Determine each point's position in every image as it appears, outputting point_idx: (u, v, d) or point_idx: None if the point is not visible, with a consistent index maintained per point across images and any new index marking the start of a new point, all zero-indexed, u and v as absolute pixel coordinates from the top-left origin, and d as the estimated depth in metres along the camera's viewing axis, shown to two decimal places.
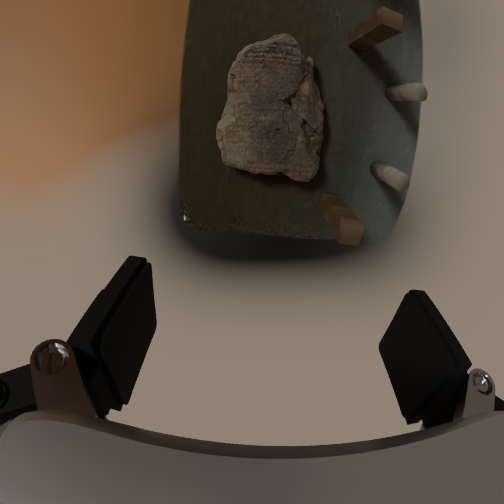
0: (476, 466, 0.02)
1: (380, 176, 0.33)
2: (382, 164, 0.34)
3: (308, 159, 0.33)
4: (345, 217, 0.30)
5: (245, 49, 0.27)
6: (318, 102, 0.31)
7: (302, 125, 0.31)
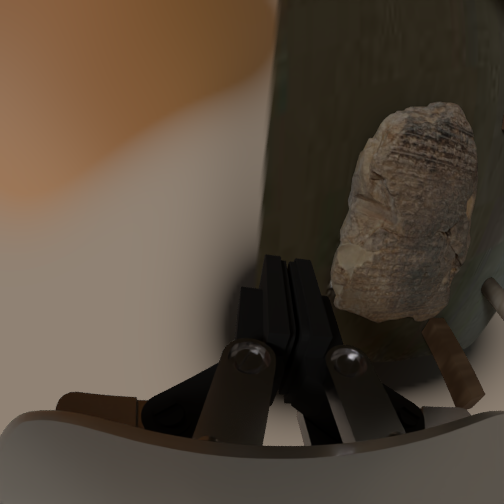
0: (476, 466, 0.02)
1: (497, 308, 0.21)
2: (500, 290, 0.21)
3: (443, 300, 0.21)
4: (469, 382, 0.18)
5: (398, 123, 0.15)
6: None
7: None
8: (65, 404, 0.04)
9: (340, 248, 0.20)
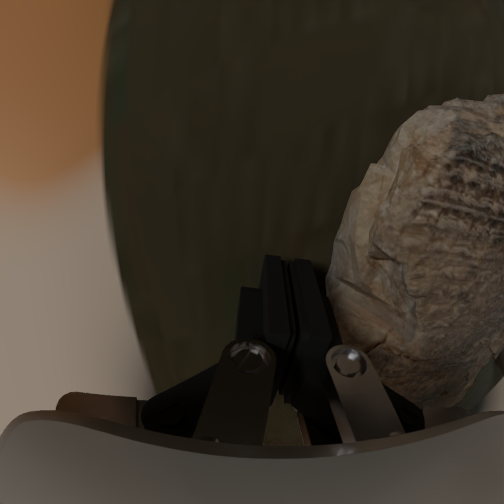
0: (476, 466, 0.02)
1: None
2: None
3: (459, 400, 0.12)
4: None
5: (437, 132, 0.06)
6: None
7: None
8: (65, 404, 0.04)
9: None
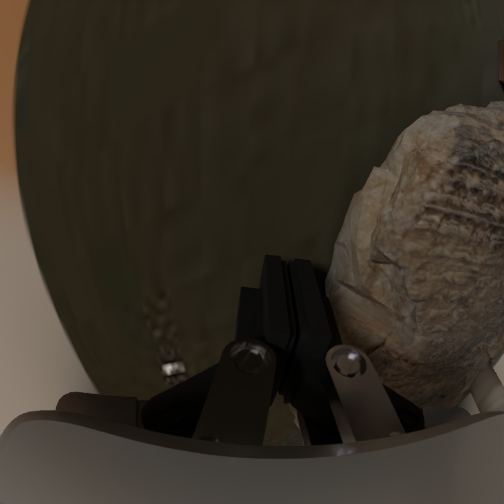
0: (476, 466, 0.02)
1: (476, 401, 0.12)
2: (486, 374, 0.12)
3: (455, 404, 0.12)
4: None
5: (441, 137, 0.06)
6: None
7: None
8: (65, 404, 0.04)
9: None
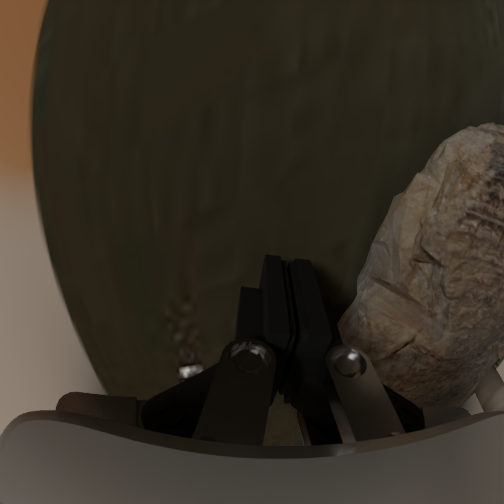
0: (476, 466, 0.02)
1: (481, 402, 0.12)
2: (491, 376, 0.12)
3: (461, 404, 0.12)
4: None
5: (479, 151, 0.06)
6: None
7: None
8: (65, 404, 0.04)
9: None
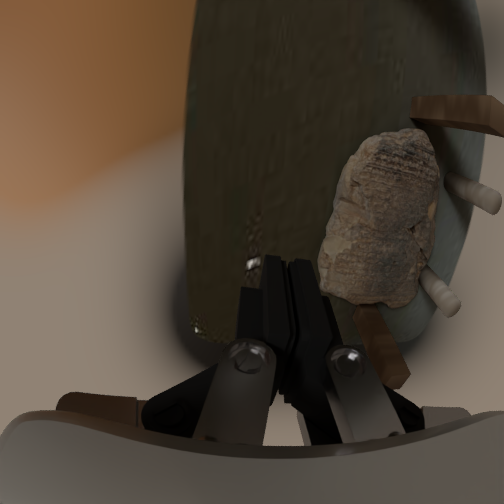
0: (476, 466, 0.02)
1: (427, 291, 0.27)
2: (431, 275, 0.27)
3: (412, 289, 0.27)
4: (391, 360, 0.23)
5: (373, 144, 0.22)
6: (433, 221, 0.25)
7: (416, 253, 0.26)
8: (65, 404, 0.04)
9: (325, 239, 0.26)
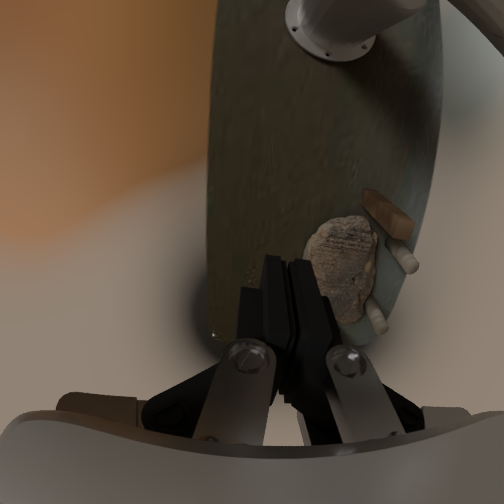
0: (476, 466, 0.02)
1: (368, 315, 0.44)
2: (371, 304, 0.44)
3: (357, 313, 0.44)
4: None
5: (326, 229, 0.38)
6: (373, 270, 0.42)
7: (358, 292, 0.42)
8: (65, 404, 0.04)
9: None
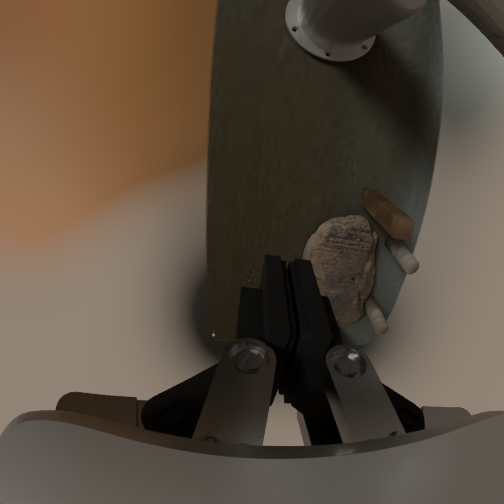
0: (476, 466, 0.02)
1: (368, 315, 0.44)
2: (371, 304, 0.44)
3: (357, 313, 0.44)
4: None
5: (326, 229, 0.38)
6: (373, 270, 0.42)
7: (358, 291, 0.42)
8: (65, 404, 0.04)
9: None
